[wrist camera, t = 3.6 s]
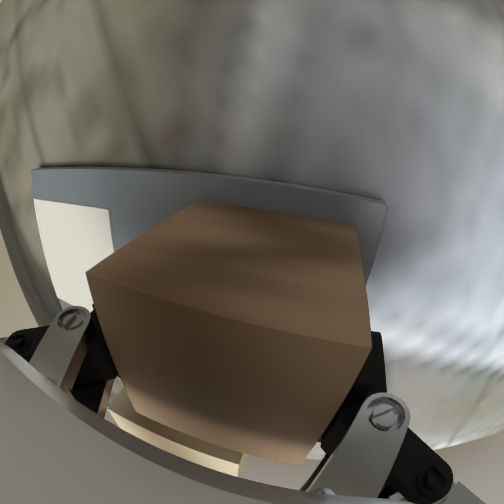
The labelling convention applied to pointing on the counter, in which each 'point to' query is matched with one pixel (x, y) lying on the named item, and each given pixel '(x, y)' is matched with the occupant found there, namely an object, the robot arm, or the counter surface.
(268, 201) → the build board
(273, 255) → the walnut block
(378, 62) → the counter surface
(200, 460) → the maple block
